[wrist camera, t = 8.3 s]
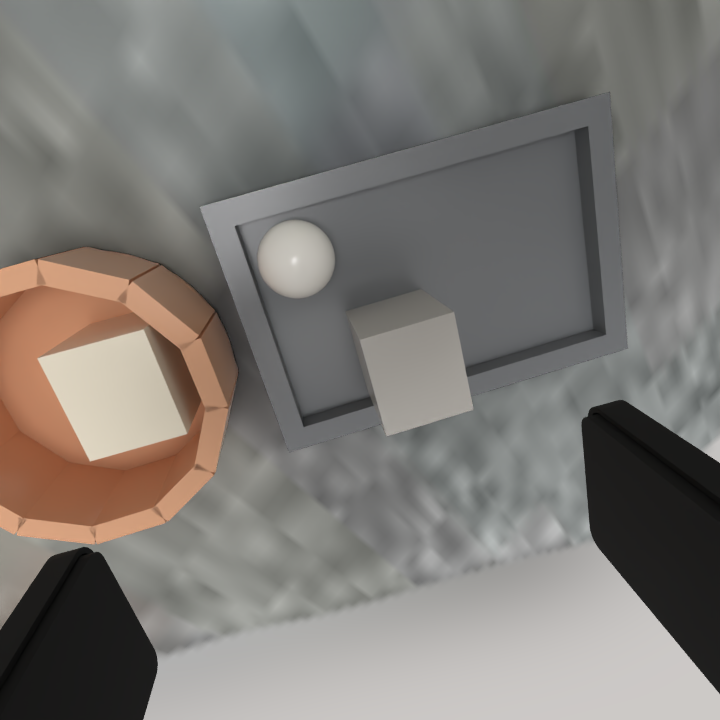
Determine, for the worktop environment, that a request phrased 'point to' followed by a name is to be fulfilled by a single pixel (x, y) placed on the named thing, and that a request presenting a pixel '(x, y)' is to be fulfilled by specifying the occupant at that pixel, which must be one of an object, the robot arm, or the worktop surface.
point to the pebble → (296, 259)
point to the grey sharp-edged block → (411, 360)
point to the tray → (440, 260)
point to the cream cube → (121, 386)
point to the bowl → (50, 423)
